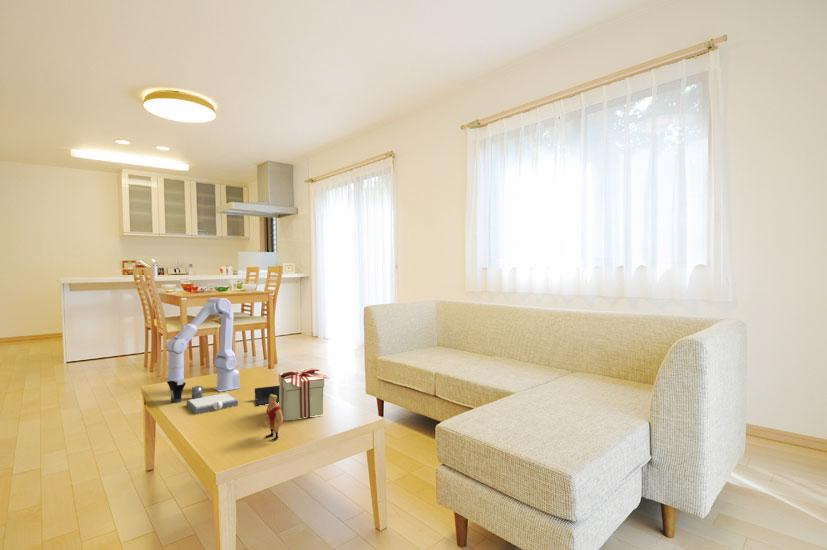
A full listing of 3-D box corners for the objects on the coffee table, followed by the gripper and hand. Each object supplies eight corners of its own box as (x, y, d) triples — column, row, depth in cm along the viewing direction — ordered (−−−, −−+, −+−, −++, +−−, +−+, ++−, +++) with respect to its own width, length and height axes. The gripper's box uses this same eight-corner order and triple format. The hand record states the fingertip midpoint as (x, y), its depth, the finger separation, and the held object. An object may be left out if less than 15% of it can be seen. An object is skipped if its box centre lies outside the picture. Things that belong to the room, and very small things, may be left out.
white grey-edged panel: (226, 397, 180) (226, 389, 180) (238, 406, 169) (238, 397, 169) (186, 405, 169) (186, 396, 169) (196, 414, 158) (196, 405, 158)
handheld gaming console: (258, 404, 167) (257, 381, 173) (253, 411, 172) (252, 388, 177) (285, 403, 174) (284, 381, 180) (280, 409, 178) (278, 388, 184)
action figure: (260, 435, 138) (260, 392, 138) (270, 432, 141) (270, 389, 141) (274, 443, 132) (274, 397, 132) (284, 440, 135) (284, 395, 135)
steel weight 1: (180, 399, 177) (180, 388, 177) (182, 401, 174) (182, 390, 174) (169, 401, 175) (169, 389, 175) (171, 403, 172) (171, 391, 172)
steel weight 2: (200, 396, 182) (200, 385, 182) (203, 398, 179) (203, 387, 179) (190, 398, 179) (191, 386, 179) (193, 400, 176) (193, 388, 176)
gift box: (288, 425, 148) (288, 378, 148) (275, 411, 163) (275, 368, 163) (332, 416, 157) (332, 372, 157) (316, 403, 173) (316, 363, 173)
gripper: (162, 365, 177) (161, 396, 177) (169, 371, 166) (169, 404, 166) (180, 362, 182) (180, 393, 182) (188, 368, 171) (188, 400, 171)
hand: (176, 398), depth 175 cm, fingers closed on steel weight 1, 4 cm apart
